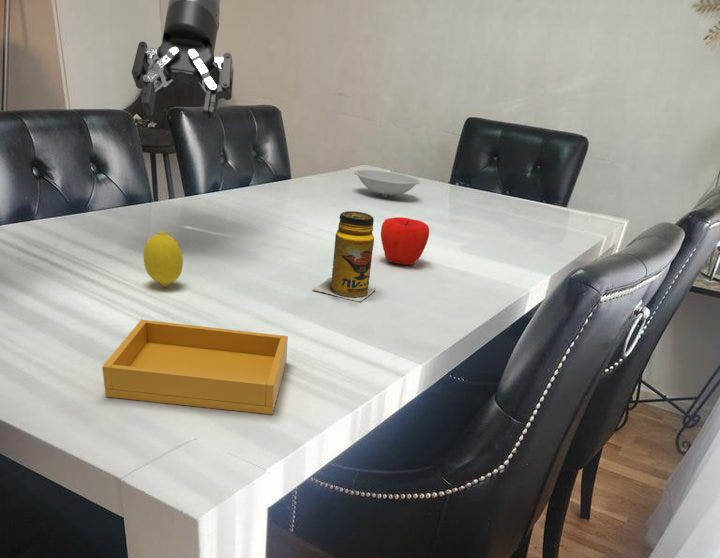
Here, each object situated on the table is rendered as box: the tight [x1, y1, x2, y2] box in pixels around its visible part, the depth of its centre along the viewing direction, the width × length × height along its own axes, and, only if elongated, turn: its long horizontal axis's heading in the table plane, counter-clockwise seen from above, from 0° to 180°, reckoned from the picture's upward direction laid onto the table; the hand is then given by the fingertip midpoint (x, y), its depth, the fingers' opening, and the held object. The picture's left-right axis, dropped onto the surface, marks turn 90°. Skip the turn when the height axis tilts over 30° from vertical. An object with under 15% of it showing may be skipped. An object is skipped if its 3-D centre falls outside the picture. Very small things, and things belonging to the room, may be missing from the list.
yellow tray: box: [101, 319, 289, 415], centre depth 73 cm, size 18×14×4 cm
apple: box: [380, 216, 430, 266], centre depth 120 cm, size 9×9×8 cm
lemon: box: [143, 231, 184, 288], centre depth 95 cm, size 6×6×8 cm
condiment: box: [311, 210, 377, 302], centre depth 102 cm, size 7×8×12 cm
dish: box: [354, 169, 421, 198], centre depth 172 cm, size 18×14×5 cm
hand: (177, 114), depth 95 cm, fingers open, 8 cm apart
